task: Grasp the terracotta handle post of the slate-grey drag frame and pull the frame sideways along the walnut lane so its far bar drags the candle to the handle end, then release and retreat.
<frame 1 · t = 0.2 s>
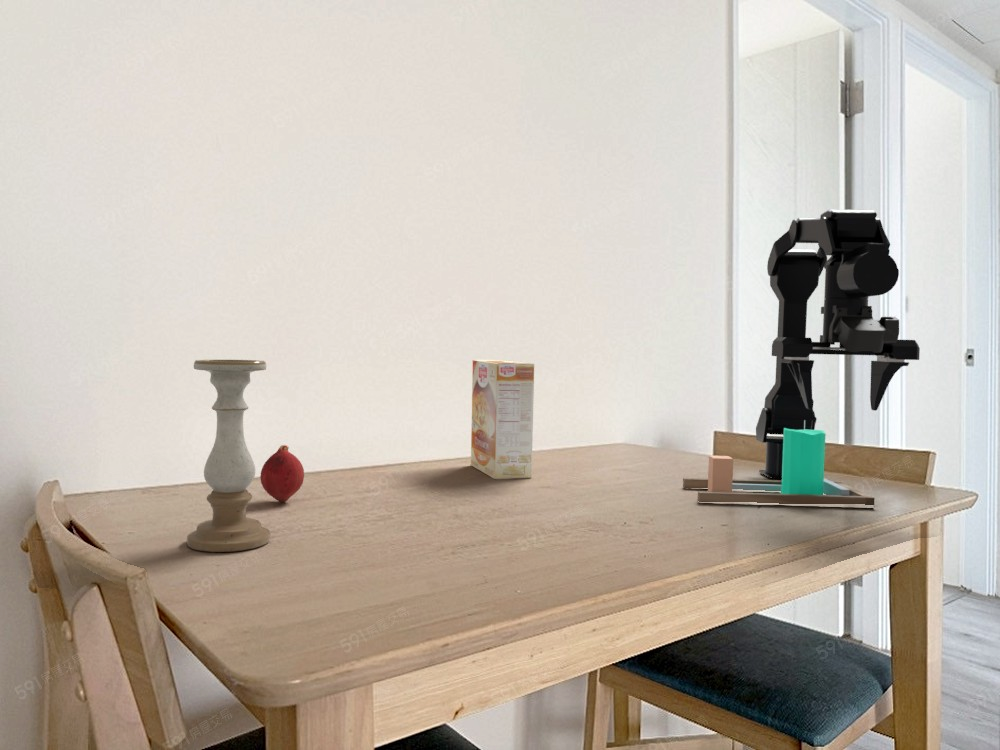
hand: (841, 409, 114), 14 cm above the table, fingers open, 9 cm apart
candle holder: (229, 544, 89), on the table
onion: (282, 503, 111), on the table
candle: (801, 499, 122), resting in frame
lane: (773, 497, 122), on the table
frame: (773, 478, 122), point 3 cm above the table, slide at 0.0 cm
coffeecake box: (499, 472, 141), on the table
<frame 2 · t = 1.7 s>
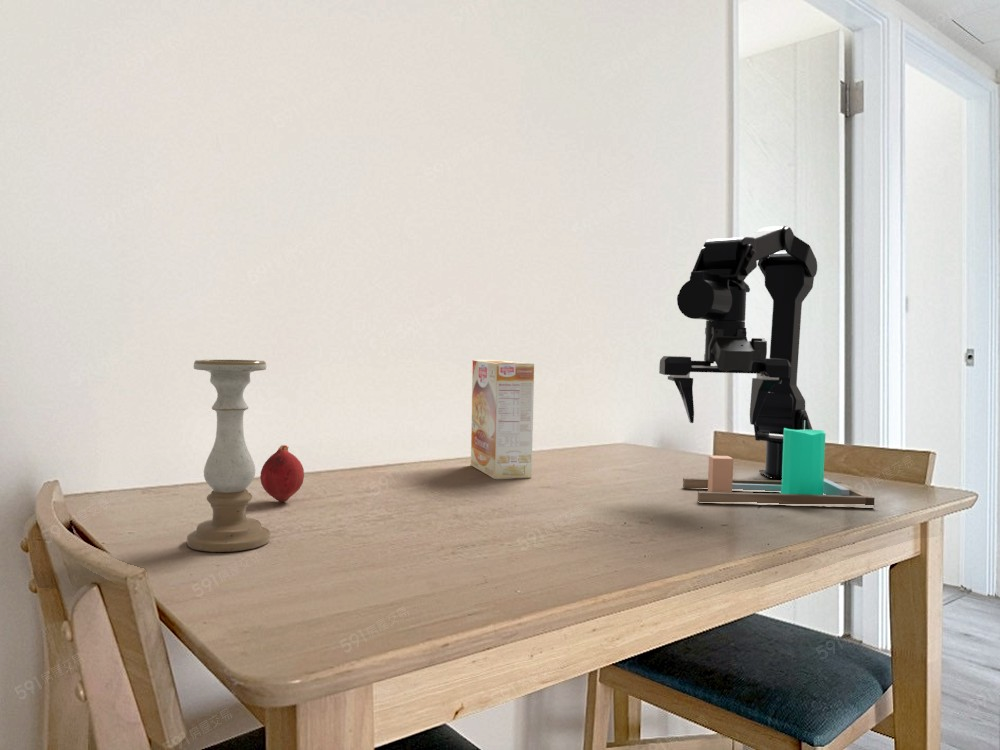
hand: (721, 423, 122), 11 cm above the table, fingers open, 9 cm apart
nothing on the table moved.
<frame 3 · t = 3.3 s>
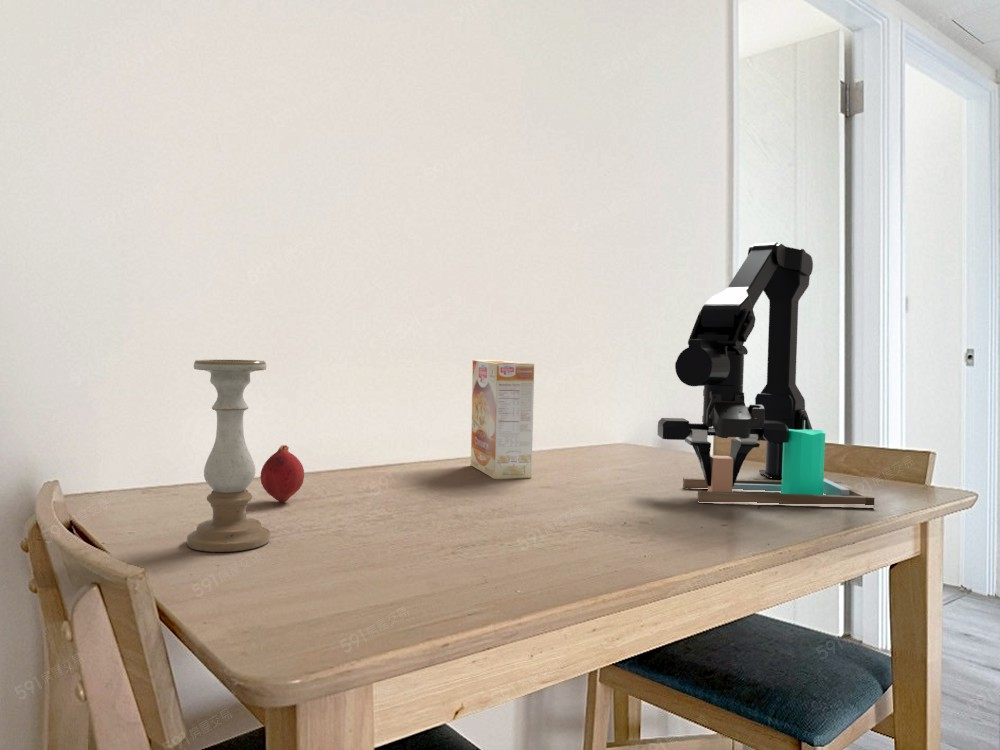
hand: (719, 486, 122), 2 cm above the table, fingers closed on frame, 3 cm apart
frame: (773, 478, 122), point 3 cm above the table, slide at 0.0 cm, touching gripper
everything else where it was.
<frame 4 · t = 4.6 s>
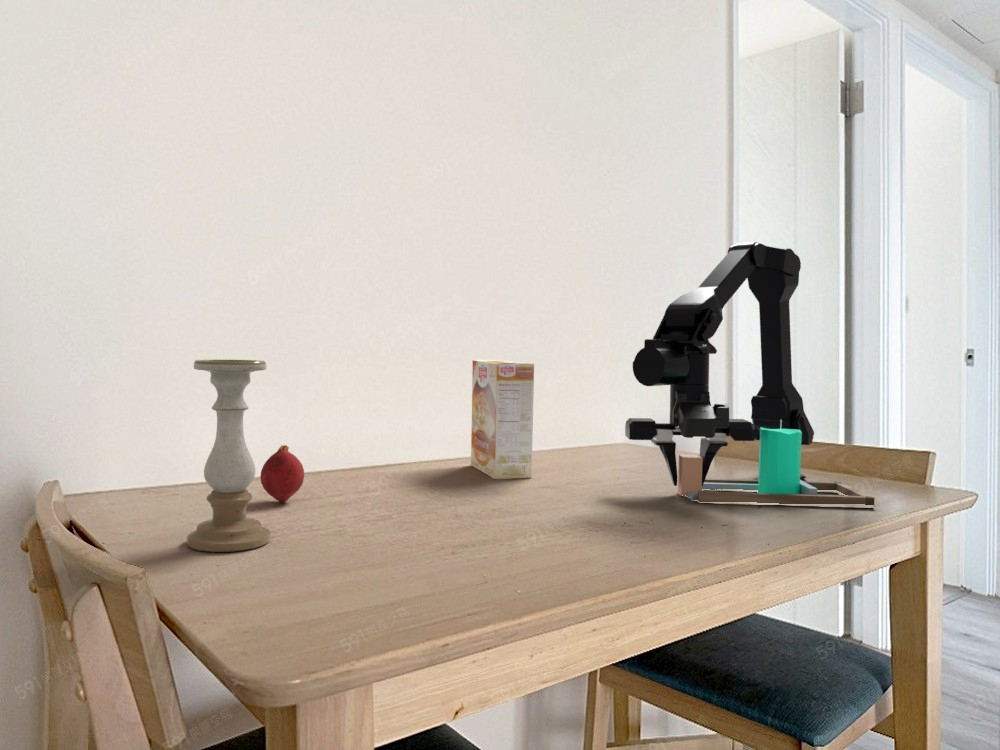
hand: (687, 485, 123), 1 cm above the table, fingers open, 3 cm apart
candle: (778, 499, 122), resting in frame
frame: (743, 477, 122), point 3 cm above the table, slide at 4.6 cm, touching candle, gripper
everything else where it was.
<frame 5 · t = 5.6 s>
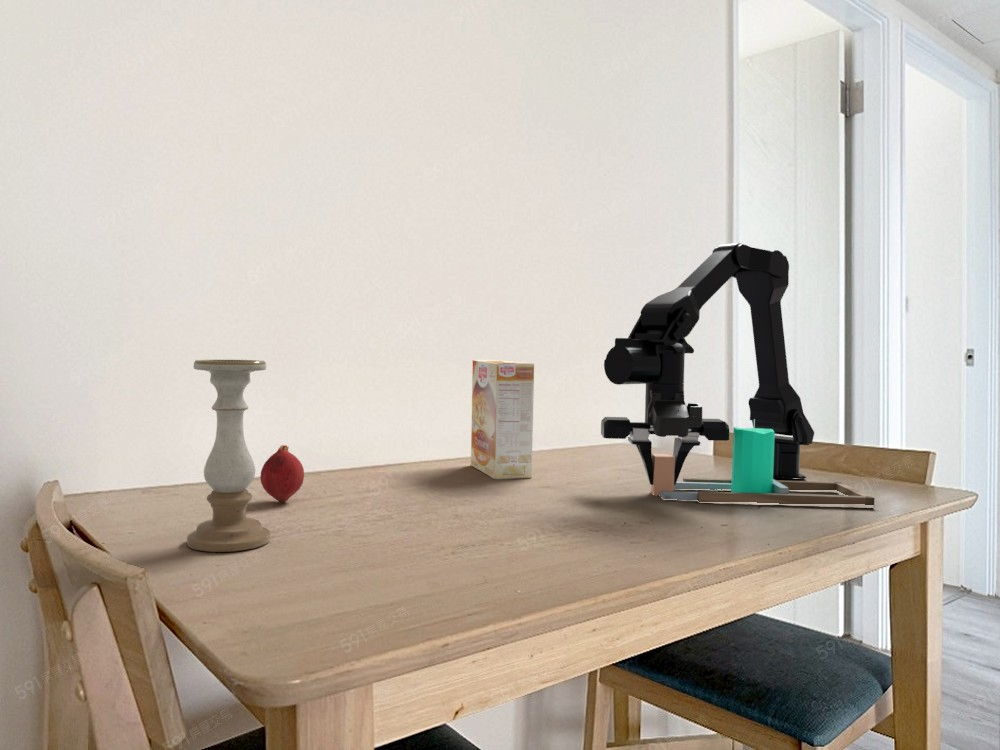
hand: (662, 484, 123), 1 cm above the table, fingers closed on frame, 3 cm apart
candle: (751, 498, 122), resting in frame
frame: (715, 476, 122), point 3 cm above the table, slide at 8.7 cm, touching candle, gripper
everything else where it was.
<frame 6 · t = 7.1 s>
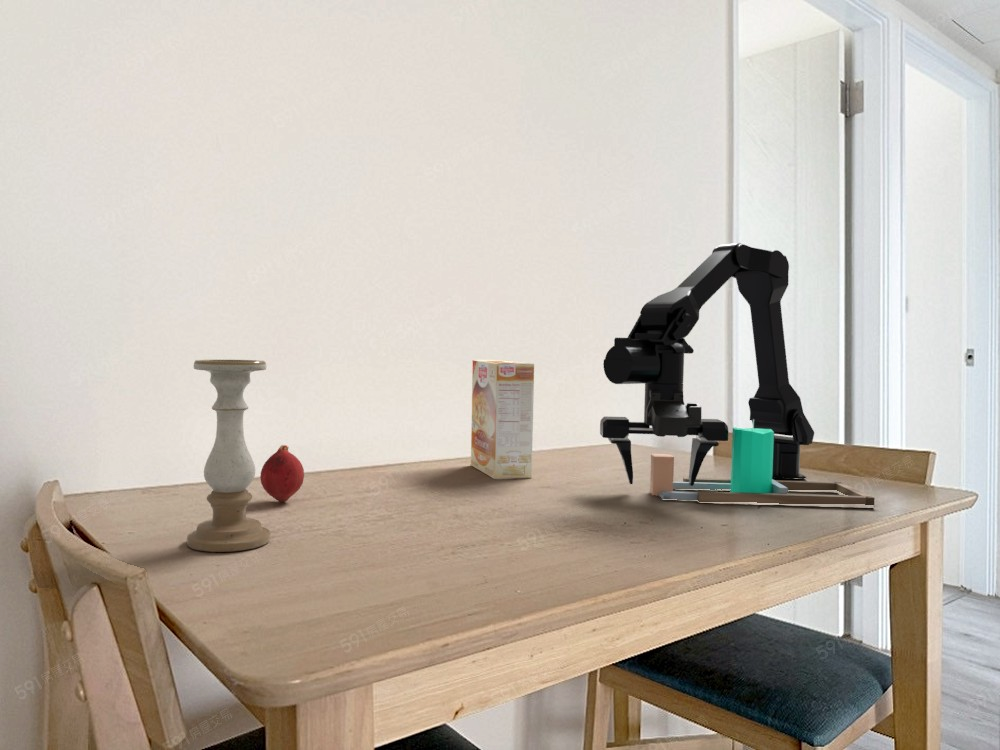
hand: (661, 484, 123), 2 cm above the table, fingers open, 9 cm apart
candle: (750, 498, 122), resting in frame
frame: (714, 476, 122), point 3 cm above the table, slide at 8.9 cm
everything else where it was.
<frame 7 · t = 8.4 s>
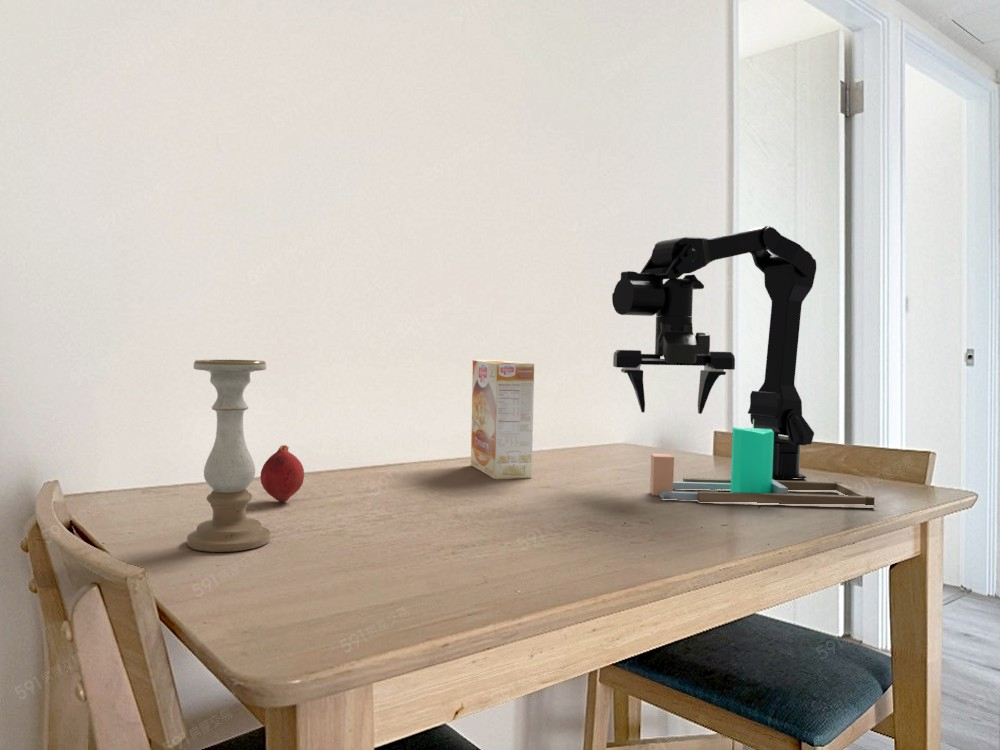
hand: (671, 412, 130), 12 cm above the table, fingers open, 9 cm apart
nothing on the table moved.
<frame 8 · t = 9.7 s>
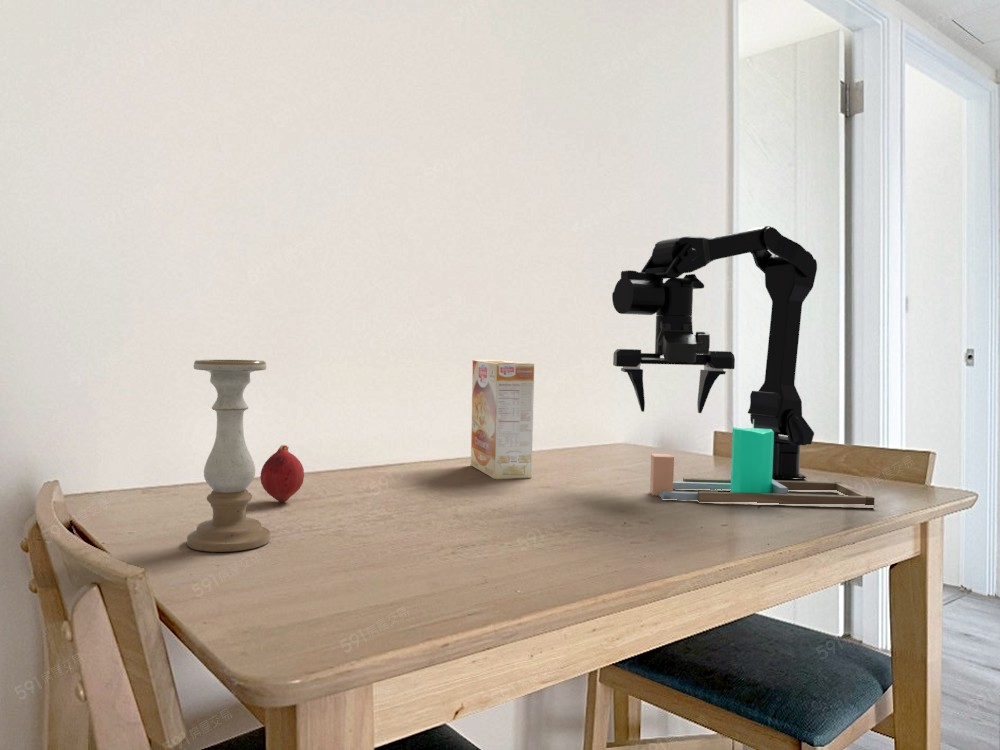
hand: (671, 412, 130), 12 cm above the table, fingers open, 9 cm apart
nothing on the table moved.
at the end: frame slide at 8.9 cm; candle inside the target area (1.1 cm from its centre), resting in frame; candle tilted 0° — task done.
